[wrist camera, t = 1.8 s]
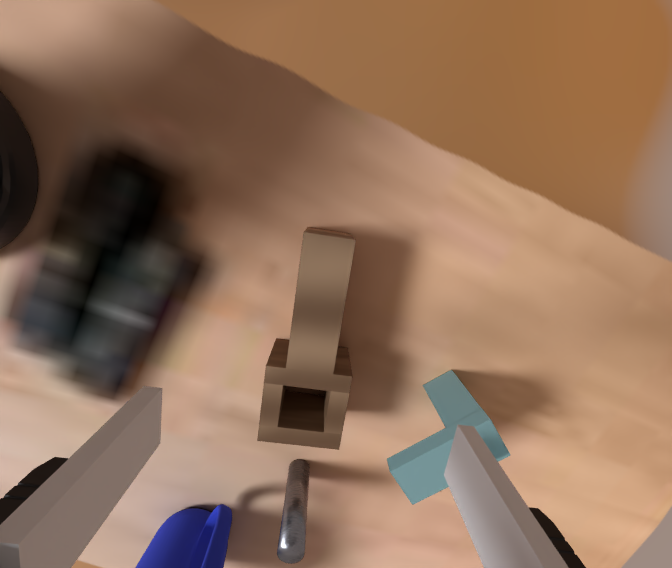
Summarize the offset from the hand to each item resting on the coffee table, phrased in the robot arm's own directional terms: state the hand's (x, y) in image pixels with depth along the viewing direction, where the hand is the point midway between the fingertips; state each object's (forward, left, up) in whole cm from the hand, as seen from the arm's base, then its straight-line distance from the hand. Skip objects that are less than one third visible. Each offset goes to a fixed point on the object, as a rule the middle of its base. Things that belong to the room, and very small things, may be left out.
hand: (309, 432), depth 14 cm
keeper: (+12, +4, -14) cm, 19 cm away
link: (0, 0, -14) cm, 14 cm away
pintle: (+12, -10, -14) cm, 21 cm away
